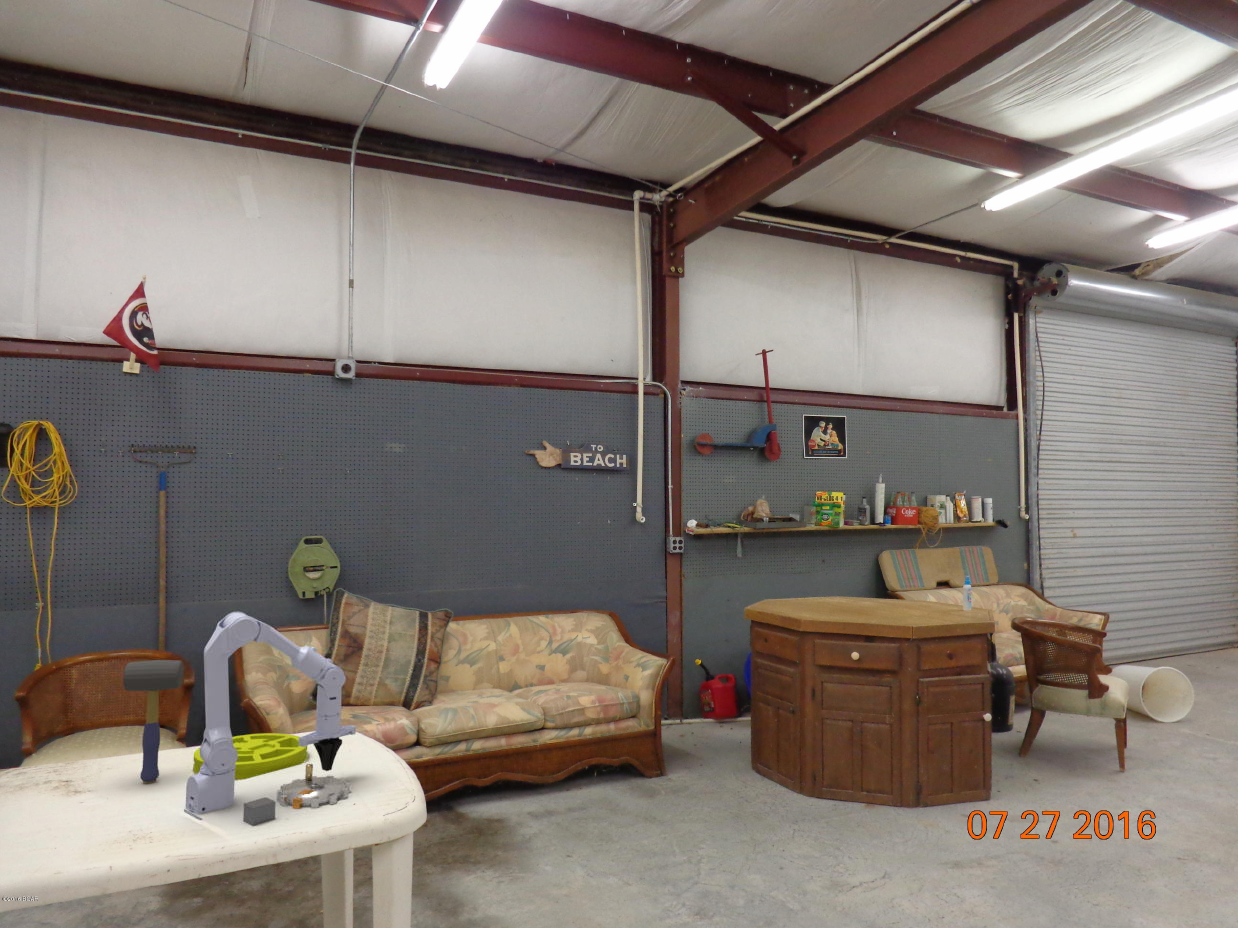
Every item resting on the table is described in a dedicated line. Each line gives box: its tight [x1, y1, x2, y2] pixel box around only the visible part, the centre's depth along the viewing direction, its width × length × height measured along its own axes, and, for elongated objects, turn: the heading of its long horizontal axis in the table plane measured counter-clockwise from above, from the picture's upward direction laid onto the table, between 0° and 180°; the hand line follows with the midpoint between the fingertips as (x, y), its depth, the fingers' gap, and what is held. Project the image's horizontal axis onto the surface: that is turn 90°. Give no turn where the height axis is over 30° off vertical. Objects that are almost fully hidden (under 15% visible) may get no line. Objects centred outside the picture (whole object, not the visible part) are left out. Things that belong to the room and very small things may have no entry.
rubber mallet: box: [122, 659, 184, 784], centre depth 202 cm, size 12×8×30 cm, turn 107°
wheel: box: [276, 763, 351, 810], centre depth 191 cm, size 16×16×6 cm
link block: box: [242, 796, 277, 827], centre depth 176 cm, size 5×4×5 cm
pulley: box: [192, 732, 308, 781], centre depth 218 cm, size 28×28×5 cm
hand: (326, 769), depth 199 cm, fingers closed
